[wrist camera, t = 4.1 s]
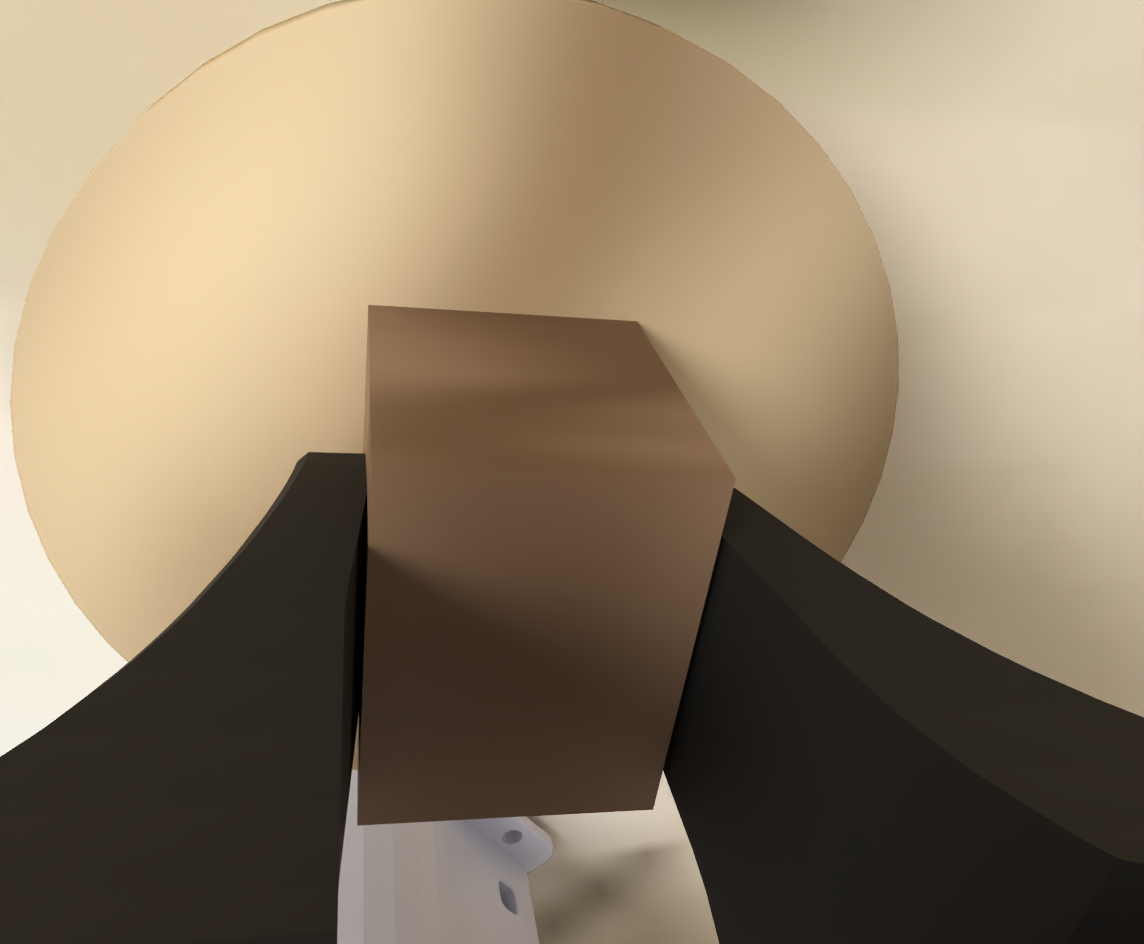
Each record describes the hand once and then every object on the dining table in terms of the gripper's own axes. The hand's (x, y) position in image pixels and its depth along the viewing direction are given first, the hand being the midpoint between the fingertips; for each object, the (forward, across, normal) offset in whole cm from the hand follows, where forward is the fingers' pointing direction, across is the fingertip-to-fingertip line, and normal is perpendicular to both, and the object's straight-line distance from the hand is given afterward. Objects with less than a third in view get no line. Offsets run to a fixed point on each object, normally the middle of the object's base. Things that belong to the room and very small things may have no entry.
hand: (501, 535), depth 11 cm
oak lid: (+2, 0, 0) cm, 2 cm away
